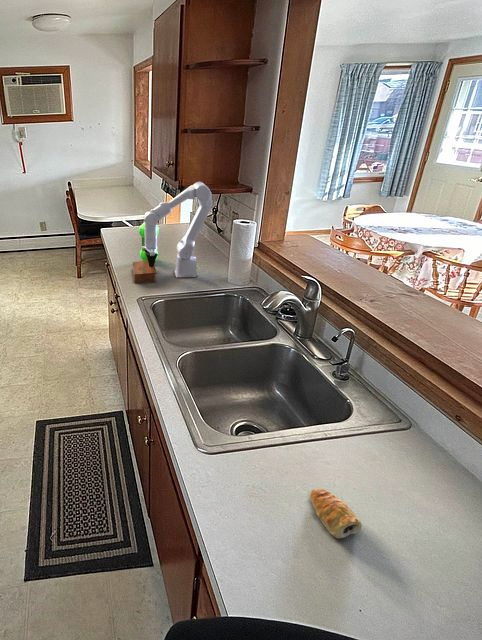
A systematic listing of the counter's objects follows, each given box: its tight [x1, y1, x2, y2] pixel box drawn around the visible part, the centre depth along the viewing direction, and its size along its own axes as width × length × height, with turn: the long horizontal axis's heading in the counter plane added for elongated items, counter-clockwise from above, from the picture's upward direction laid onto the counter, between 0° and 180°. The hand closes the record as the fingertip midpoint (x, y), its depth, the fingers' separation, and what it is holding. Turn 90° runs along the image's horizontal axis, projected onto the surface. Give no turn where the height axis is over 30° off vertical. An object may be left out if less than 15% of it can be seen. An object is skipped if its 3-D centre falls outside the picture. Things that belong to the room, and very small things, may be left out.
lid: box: [132, 260, 158, 276], centre depth 187 cm, size 10×16×5 cm
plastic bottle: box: [138, 221, 160, 261], centre depth 203 cm, size 10×10×25 cm
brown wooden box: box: [132, 268, 156, 284], centre depth 189 cm, size 10×16×4 cm, turn 0°
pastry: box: [309, 488, 362, 540], centre depth 77 cm, size 9×7×4 cm
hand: (150, 264), depth 188 cm, fingers closed on lid, 5 cm apart
